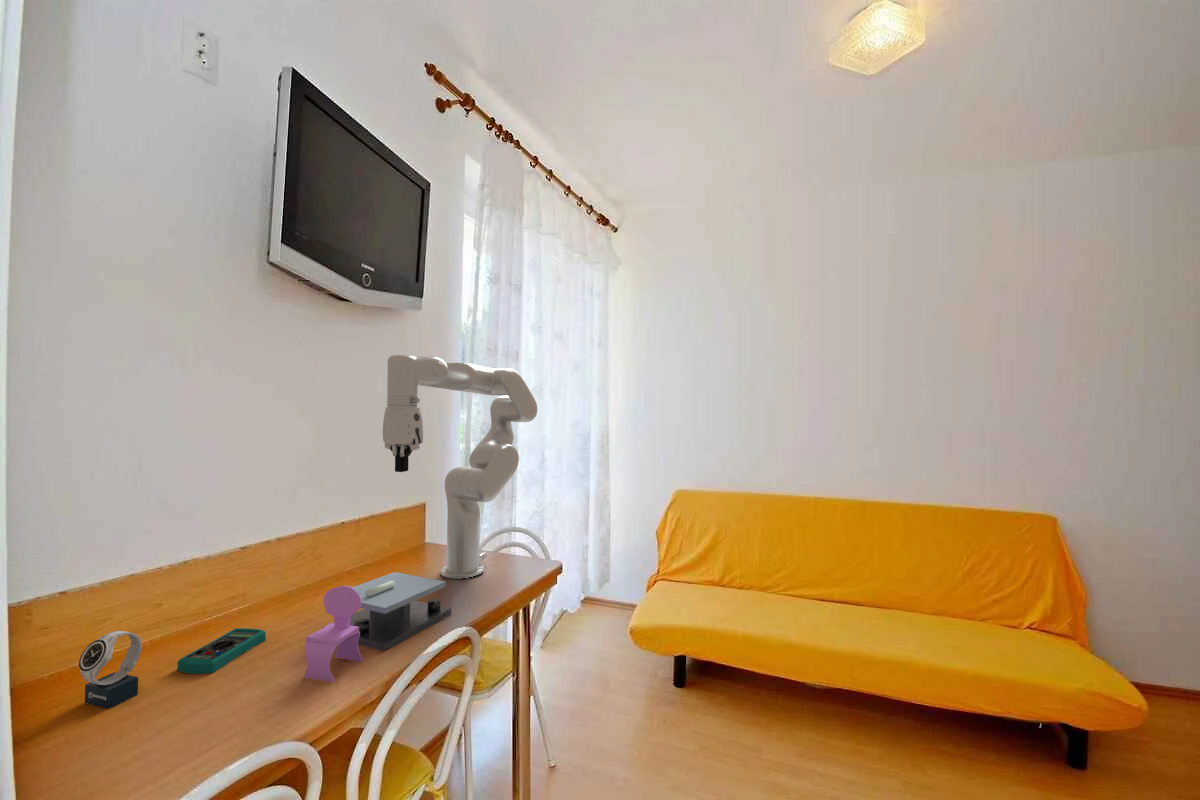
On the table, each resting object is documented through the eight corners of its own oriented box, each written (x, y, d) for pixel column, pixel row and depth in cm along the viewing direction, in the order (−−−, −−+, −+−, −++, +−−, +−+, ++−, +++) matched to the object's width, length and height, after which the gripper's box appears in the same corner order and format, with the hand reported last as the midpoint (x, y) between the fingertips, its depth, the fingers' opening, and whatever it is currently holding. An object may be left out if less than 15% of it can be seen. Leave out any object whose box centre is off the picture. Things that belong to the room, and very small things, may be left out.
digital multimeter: (173, 675, 98) (173, 659, 98) (235, 639, 113) (235, 625, 113) (209, 677, 98) (210, 661, 98) (267, 641, 113) (267, 627, 113)
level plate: (394, 576, 133) (394, 565, 133) (445, 586, 127) (445, 574, 127) (329, 601, 116) (330, 587, 116) (385, 613, 110) (385, 599, 110)
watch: (70, 710, 86) (72, 642, 86) (125, 684, 94) (127, 622, 94) (95, 715, 85) (97, 647, 85) (149, 689, 93) (150, 626, 93)
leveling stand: (393, 601, 135) (394, 576, 135) (451, 614, 128) (451, 587, 128) (321, 634, 115) (322, 604, 115) (384, 651, 108) (385, 619, 108)
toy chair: (297, 678, 97) (299, 596, 97) (332, 656, 106) (333, 581, 106) (336, 684, 95) (338, 601, 96) (368, 661, 104) (369, 585, 104)
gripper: (434, 402, 140) (433, 471, 141) (390, 401, 146) (390, 467, 146) (414, 402, 134) (414, 475, 134) (369, 401, 139) (369, 471, 139)
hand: (401, 471), depth 140 cm, fingers closed
